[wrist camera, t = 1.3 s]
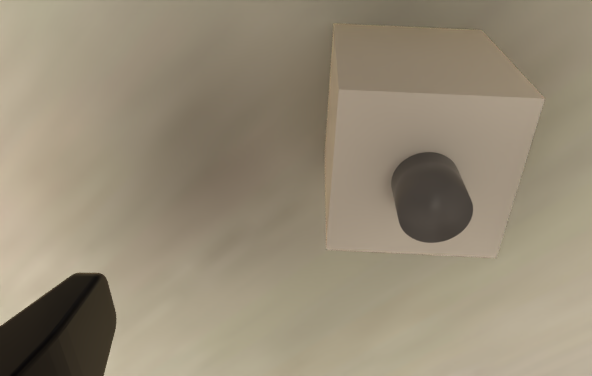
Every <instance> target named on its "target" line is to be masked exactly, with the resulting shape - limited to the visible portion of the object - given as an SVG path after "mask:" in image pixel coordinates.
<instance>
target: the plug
mask: <svg viewBox="0 0 592 376" xmlns="http://www.w3.org/2000/svg"><path fill="white" fill-rule="evenodd" d="M544 101H545V98H544V97H543V96H542V94H541V93H540V92H539V91H538V90H537V89H536V88H535V87H534V86H533V85H532V84H531V83H530V82H529V80H528V79H527V78H526V77H525V76H524V75H523V74H522V73H521V72H520V71H519V70H518V69H517V67H516V66H515V65H514V64H513V63H512V62H511V61H510V60H509V59H508V58H507V57H506V56H505V54H504V53H503V52H502V51H501V50H500V49H499V48H498V47H497V46H496V45H495V44H494V43H493V42H492V40H491V39H490V38H489V37H488V36H487V35H486V34H485V33H484V32H483V31H482V30H476V29H453V28H429V27H406V26H382V25H359V24H335V23H334V24H333V38H332V53H331V67H330V82H329V96H328V111H327V125H326V140H325V211H326V250H340V251H360V252H381V253H401V254H422V255H442V256H462V257H483V258H497V256H498V252H499V249H500V246H501V242H502V239H503V236H504V233H505V229H506V226H507V223H508V219H509V216H510V213H511V210H512V206H513V203H514V200H515V196H516V193H517V190H518V187H519V183H520V180H521V177H522V174H523V170H524V167H525V164H526V160H527V157H528V154H529V151H530V147H531V144H532V141H533V137H534V134H535V131H536V128H537V124H538V121H539V118H540V114H541V111H542V108H543V105H544Z"/></svg>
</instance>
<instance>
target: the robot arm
mask: <svg viewBox="0 0 592 376" xmlns="http://www.w3.org/2000/svg"><path fill="white" fill-rule="evenodd" d="M115 328H116V312H115V308H114V304H113V300H112V296H111V292H110V289H109V285H108V281H107V279H106V277H105V276H104V275H103V274H101V273H75V274H73V275H71V276H70V277H68V278H67V279H66V280H64V281H63V282H61V283H60V284H59V285H57V286H56V287H54V288H53V289H52V290H50V291H49V292H47V293H46V294H45V295H43V296H42V297H40V298H39V299H38V300H36V301H35V302H33V303H32V304H31V305H29V306H28V307H26V308H25V309H24V310H22V311H21V312H19V313H18V314H17V315H15V316H14V317H12V318H11V319H10V320H8V321H7V322H5V323H4V324H3V325H1V326H0V376H104V372H105V368H106V364H107V360H108V356H109V352H110V348H111V344H112V341H113V337H114V333H115Z"/></svg>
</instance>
